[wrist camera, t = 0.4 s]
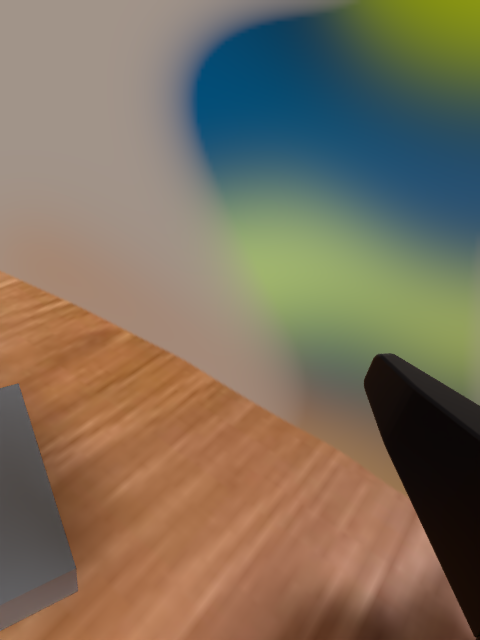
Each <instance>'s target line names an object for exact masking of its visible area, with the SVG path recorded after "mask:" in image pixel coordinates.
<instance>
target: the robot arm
mask: <svg viewBox="0 0 480 640" xmlns="http://www.w3.org/2000/svg"><path fill="white" fill-rule="evenodd" d="M364 388H365V391H366V394H367V397H368V400H369V403H370V406H371V408H372V411H373V414H374V417H375V420H376V423H377V426H378V428H379V431H380V434H381V437H382V439H383V442H384V445H385V447H386V449H387V451H388V454H389V456H390V458H391V460H392V462H393V464H394V466H395V468H396V470H397V473H398V475H399V477H400V479H401V481H402V483H403V486H404V488H405V490H406V492H407V494H408V496H409V498H410V501H411V503H412V505H413V507H414V509H415V511H416V513H417V515H418V518H419V520H420V522H421V524H422V526H423V528H424V530H425V532H426V535H427V537H428V539H429V541H430V543H431V545H432V547H433V549H434V552H435V554H436V556H437V558H438V560H439V562H440V564H441V567H442V569H443V571H444V573H445V575H446V577H447V579H448V581H449V584H450V586H451V588H452V590H453V592H454V594H455V596H456V598H457V601H458V603H459V605H460V607H461V609H462V611H463V613H464V615H465V618H466V620H467V622H468V624H469V626H470V628H471V630H472V632H473V635H474V636H475V637H476V640H480V406H479V405H477V404H476V403H474V402H473V401H471V400H469V399H467V398H466V397H464V396H462V395H461V394H459V393H458V392H456V391H454V390H453V389H451V388H449V387H448V386H446V385H444V384H443V383H441V382H439V381H438V380H436V379H434V378H433V377H431V376H430V375H428V374H426V373H425V372H423V371H421V370H420V369H418V368H416V367H415V366H413V365H411V364H410V363H408V362H406V361H405V360H403V359H401V358H399V357H398V356H396V355H395V354H390V353H389V354H378V355H376V356H375V357H374V358H373V361H372V363H371V365H370V367H369V370H368V372H367V374H366V376H365V379H364Z"/></svg>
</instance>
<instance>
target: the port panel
mask: <svg viewBox="0 0 480 640" xmlns="http://www.w3.org/2000/svg"><path fill="white" fill-rule="evenodd" d="M77 591H78V585H77V573H76V566H75V563H74V560H73V557H72V553H71V550H70V547H69V544H68V541H67V537H66V534H65V531H64V528H63V525H62V521H61V518H60V515H59V512H58V509H57V505H56V502H55V499H54V496H53V493H52V489H51V486H50V483H49V480H48V476H47V473H46V470H45V467H44V464H43V460H42V457H41V454H40V451H39V448H38V444H37V441H36V438H35V435H34V432H33V428H32V425H31V422H30V419H29V416H28V412H27V409H26V406H25V403H24V400H23V396H22V393H21V390H20V387H19V384H15V385H11V386H7V387H3V388H0V631H1V630H3V629H5V628H7V627H9V626H11V625H13V624H15V623H17V622H19V621H20V620H22V619H24V618H26V617H28V616H30V615H32V614H34V613H36V612H38V611H40V610H42V609H44V608H46V607H48V606H50V605H52V604H54V603H56V602H58V601H60V600H62V599H63V598H65V597H67V596H69V595H71V594H73V593H75V592H77Z"/></svg>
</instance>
